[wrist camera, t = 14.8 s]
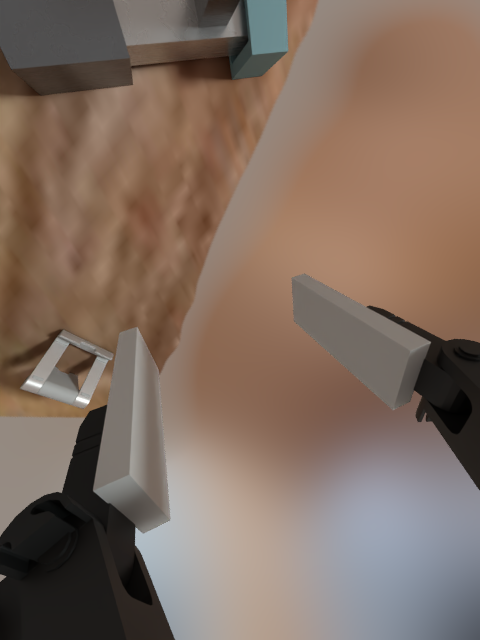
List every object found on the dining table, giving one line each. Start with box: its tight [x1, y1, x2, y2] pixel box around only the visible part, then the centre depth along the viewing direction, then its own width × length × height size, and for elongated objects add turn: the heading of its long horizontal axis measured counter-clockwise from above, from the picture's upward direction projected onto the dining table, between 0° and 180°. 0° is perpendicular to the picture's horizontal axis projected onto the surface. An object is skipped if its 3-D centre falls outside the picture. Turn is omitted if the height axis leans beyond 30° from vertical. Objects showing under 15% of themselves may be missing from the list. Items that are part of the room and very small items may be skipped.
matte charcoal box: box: [0, 0, 133, 95], centre depth 22 cm, size 10×7×7 cm
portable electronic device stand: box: [20, 330, 114, 409], centre depth 38 cm, size 9×8×8 cm
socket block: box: [229, 0, 288, 80], centre depth 26 cm, size 4×8×7 cm, turn 10°
